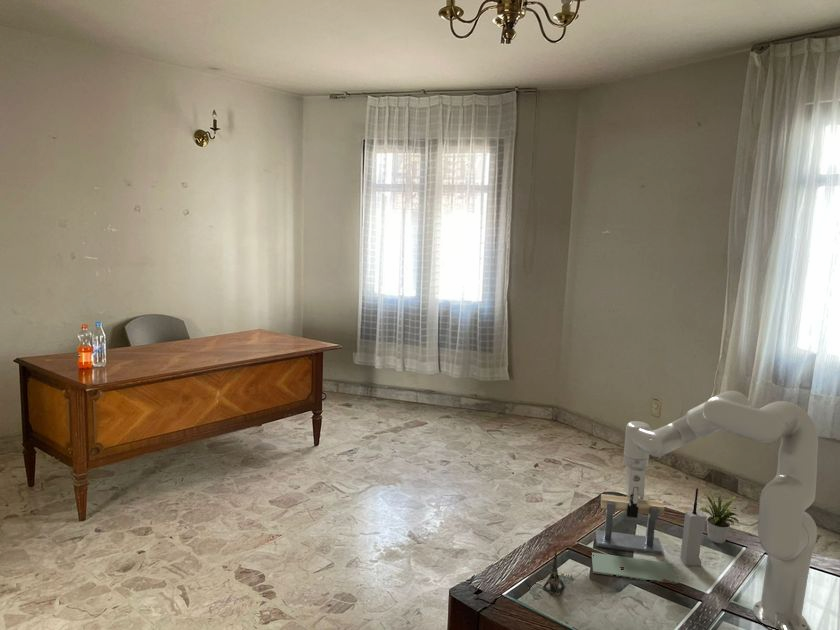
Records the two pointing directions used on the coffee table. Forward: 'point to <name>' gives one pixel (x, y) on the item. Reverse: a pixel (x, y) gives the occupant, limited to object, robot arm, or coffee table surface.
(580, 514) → the coffee table surface
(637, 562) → the rubber mat
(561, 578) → the eiffel tower figurine
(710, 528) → the house plant
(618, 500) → the maple rail
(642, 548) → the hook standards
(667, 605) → the coffee table surface
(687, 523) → the vintage mobile phone
